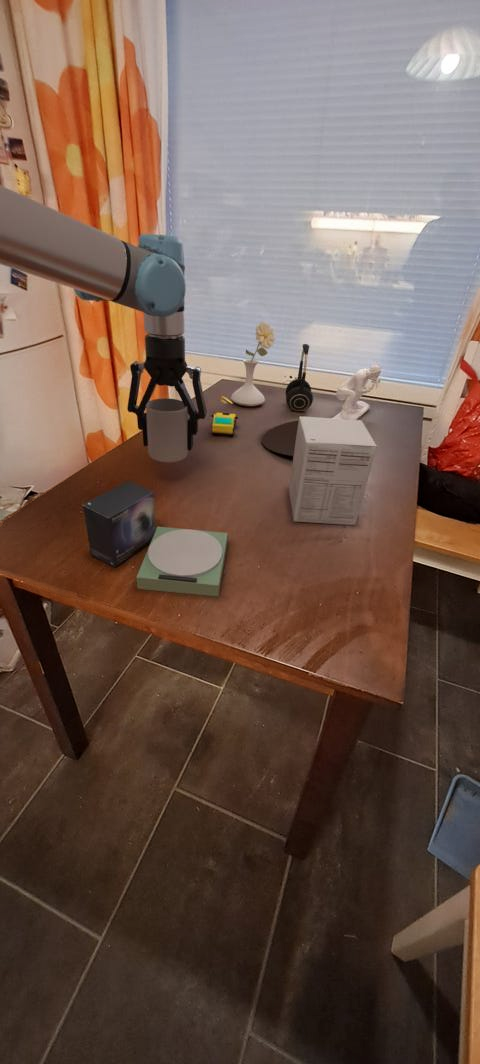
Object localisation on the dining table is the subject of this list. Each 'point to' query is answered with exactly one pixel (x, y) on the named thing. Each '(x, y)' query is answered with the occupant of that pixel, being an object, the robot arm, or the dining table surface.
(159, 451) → the mug
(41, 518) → the dining table surface
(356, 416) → the figurine
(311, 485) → the supplement box
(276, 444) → the plate
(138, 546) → the small box
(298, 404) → the headphones
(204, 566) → the scale
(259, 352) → the flower in vase
